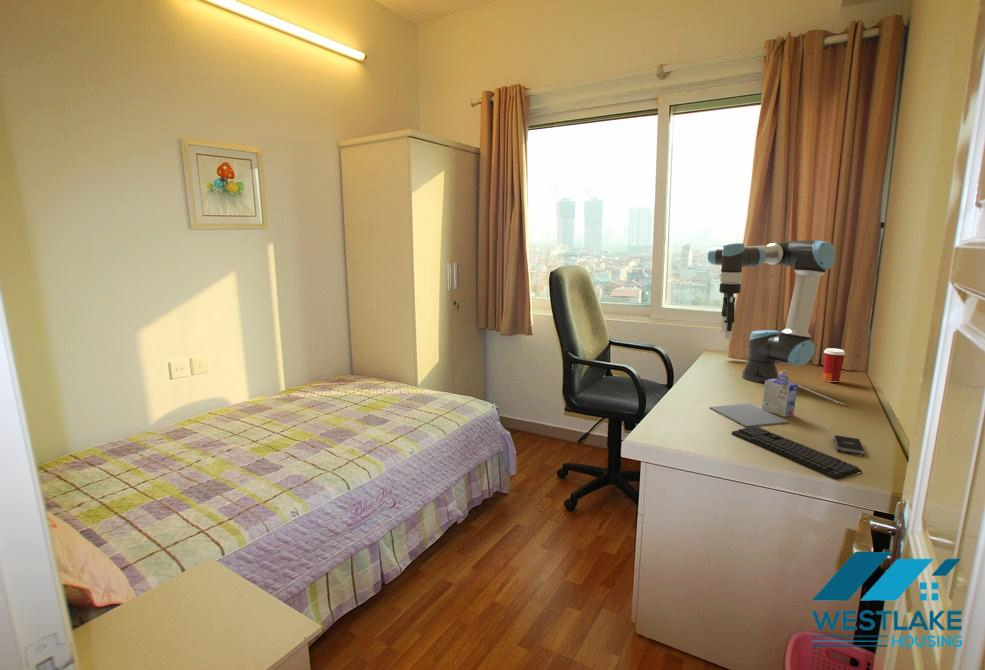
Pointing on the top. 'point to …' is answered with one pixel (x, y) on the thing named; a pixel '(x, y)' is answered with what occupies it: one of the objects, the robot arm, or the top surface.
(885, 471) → the top surface
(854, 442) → the external hard drive
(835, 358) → the coffee cup
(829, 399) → the brush
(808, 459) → the keyboard
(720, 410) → the mat
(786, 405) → the ink cartridge box
